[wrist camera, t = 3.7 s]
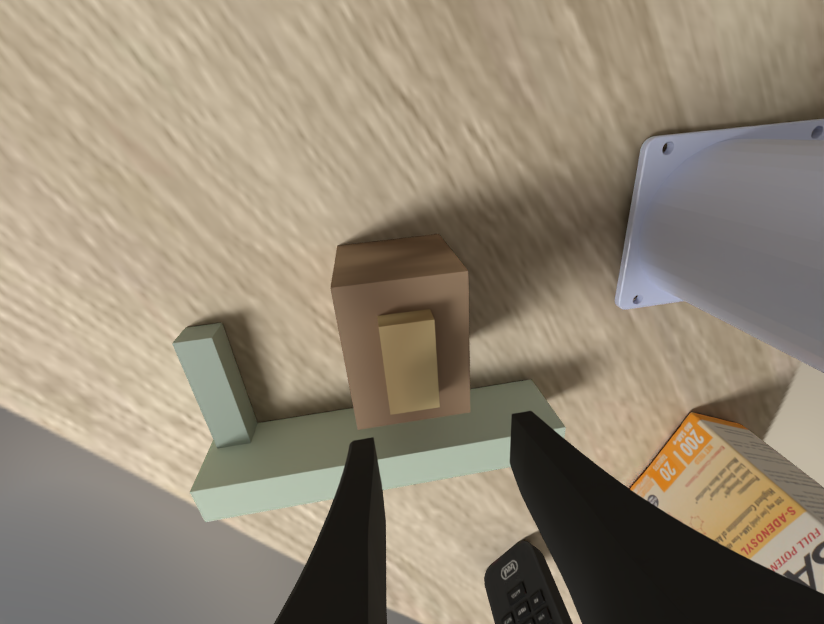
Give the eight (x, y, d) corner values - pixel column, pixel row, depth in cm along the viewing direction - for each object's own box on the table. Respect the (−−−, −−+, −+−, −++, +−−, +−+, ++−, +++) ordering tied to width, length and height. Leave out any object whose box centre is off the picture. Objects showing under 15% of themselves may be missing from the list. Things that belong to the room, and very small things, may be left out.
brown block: (438, 233, 17) (475, 279, 12) (444, 347, 19) (476, 426, 14) (337, 244, 16) (328, 297, 11) (357, 360, 19) (357, 445, 14)
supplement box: (686, 407, 24) (1004, 672, 12) (739, 421, 25) (1072, 672, 14) (616, 497, 27) (818, 777, 15) (667, 504, 28) (888, 769, 17)
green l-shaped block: (538, 279, 18) (580, 313, 15) (529, 407, 22) (561, 457, 19) (176, 328, 17) (132, 378, 14) (229, 457, 20) (205, 522, 17)
